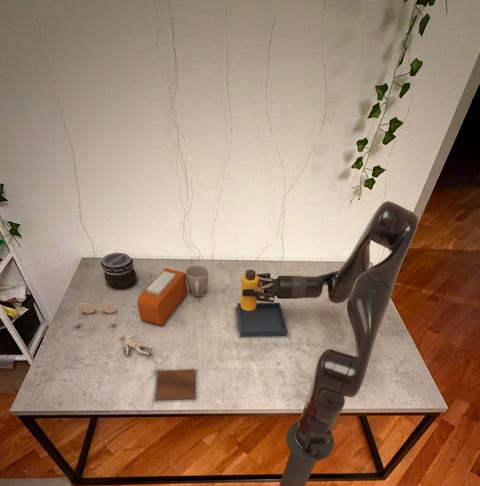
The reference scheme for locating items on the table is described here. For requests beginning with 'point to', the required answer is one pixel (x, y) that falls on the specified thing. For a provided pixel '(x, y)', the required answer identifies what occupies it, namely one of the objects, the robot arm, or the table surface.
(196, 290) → the mug
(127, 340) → the soldier figure
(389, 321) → the table surface
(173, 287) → the orange box
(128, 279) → the container
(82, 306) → the sunglasses
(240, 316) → the tray
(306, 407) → the robot arm
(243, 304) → the yellow bottle
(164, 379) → the board
